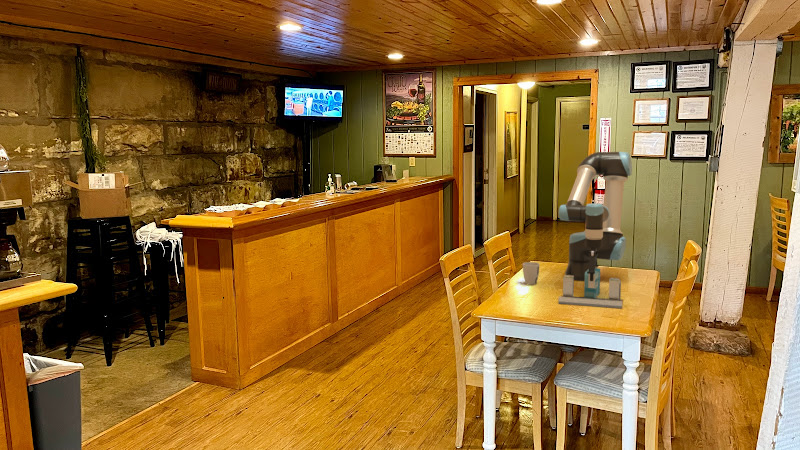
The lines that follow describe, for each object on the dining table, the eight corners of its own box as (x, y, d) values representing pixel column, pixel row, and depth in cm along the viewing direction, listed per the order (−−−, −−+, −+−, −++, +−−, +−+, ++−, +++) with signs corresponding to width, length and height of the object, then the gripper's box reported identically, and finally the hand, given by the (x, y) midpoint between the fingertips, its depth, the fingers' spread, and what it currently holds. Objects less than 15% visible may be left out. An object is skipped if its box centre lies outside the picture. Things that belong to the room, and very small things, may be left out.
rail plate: (561, 297, 272) (561, 273, 270) (622, 302, 262) (623, 276, 261) (558, 303, 263) (558, 278, 261) (622, 308, 253) (622, 282, 251)
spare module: (610, 297, 270) (611, 279, 268) (620, 298, 268) (621, 280, 267) (610, 300, 265) (611, 282, 264) (620, 301, 264) (620, 282, 262)
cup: (539, 285, 293) (540, 265, 292) (522, 285, 294) (522, 265, 293) (538, 281, 301) (538, 262, 300) (522, 281, 302) (522, 262, 301)
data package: (594, 299, 267) (595, 273, 265) (584, 298, 269) (584, 272, 268) (599, 293, 278) (600, 267, 276) (589, 292, 280) (590, 267, 278)
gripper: (587, 233, 283) (586, 278, 286) (582, 242, 260) (581, 290, 263) (604, 234, 280) (602, 279, 283) (601, 243, 257) (599, 291, 260)
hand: (592, 284), depth 273 cm, fingers open, 13 cm apart
